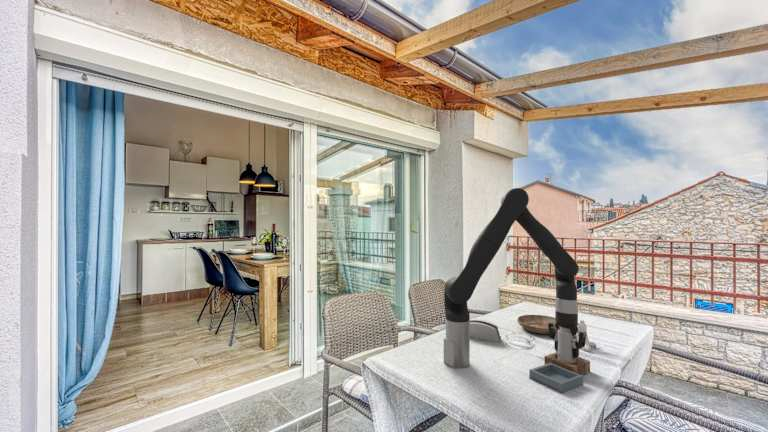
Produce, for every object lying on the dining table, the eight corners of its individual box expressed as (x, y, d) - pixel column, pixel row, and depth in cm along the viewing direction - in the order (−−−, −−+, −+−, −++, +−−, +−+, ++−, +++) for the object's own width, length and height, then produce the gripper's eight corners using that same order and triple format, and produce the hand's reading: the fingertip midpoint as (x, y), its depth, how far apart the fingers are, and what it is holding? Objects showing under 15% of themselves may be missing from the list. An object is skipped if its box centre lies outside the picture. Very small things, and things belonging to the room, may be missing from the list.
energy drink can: (559, 362, 130) (559, 323, 131) (577, 366, 126) (577, 326, 127) (556, 367, 126) (556, 327, 126) (574, 371, 122) (574, 330, 122)
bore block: (572, 378, 118) (572, 367, 118) (543, 366, 128) (543, 355, 128) (591, 371, 124) (591, 361, 124) (561, 360, 134) (561, 350, 134)
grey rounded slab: (502, 339, 158) (499, 321, 155) (499, 345, 154) (497, 327, 151) (468, 332, 167) (465, 315, 165) (464, 338, 163) (462, 320, 161)
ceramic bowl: (507, 327, 177) (507, 317, 177) (538, 321, 187) (538, 312, 187) (544, 341, 156) (544, 330, 156) (577, 334, 166) (577, 324, 166)
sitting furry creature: (589, 352, 142) (589, 324, 142) (568, 346, 149) (568, 320, 149) (597, 347, 148) (597, 320, 148) (576, 342, 155) (576, 316, 155)
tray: (561, 393, 108) (561, 384, 108) (529, 378, 118) (529, 369, 118) (582, 384, 114) (582, 375, 114) (550, 370, 124) (550, 362, 124)
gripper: (543, 307, 131) (543, 350, 131) (579, 316, 118) (579, 363, 118) (554, 304, 135) (554, 346, 134) (591, 313, 122) (591, 359, 122)
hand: (566, 354), depth 126 cm, fingers closed on energy drink can, 6 cm apart
